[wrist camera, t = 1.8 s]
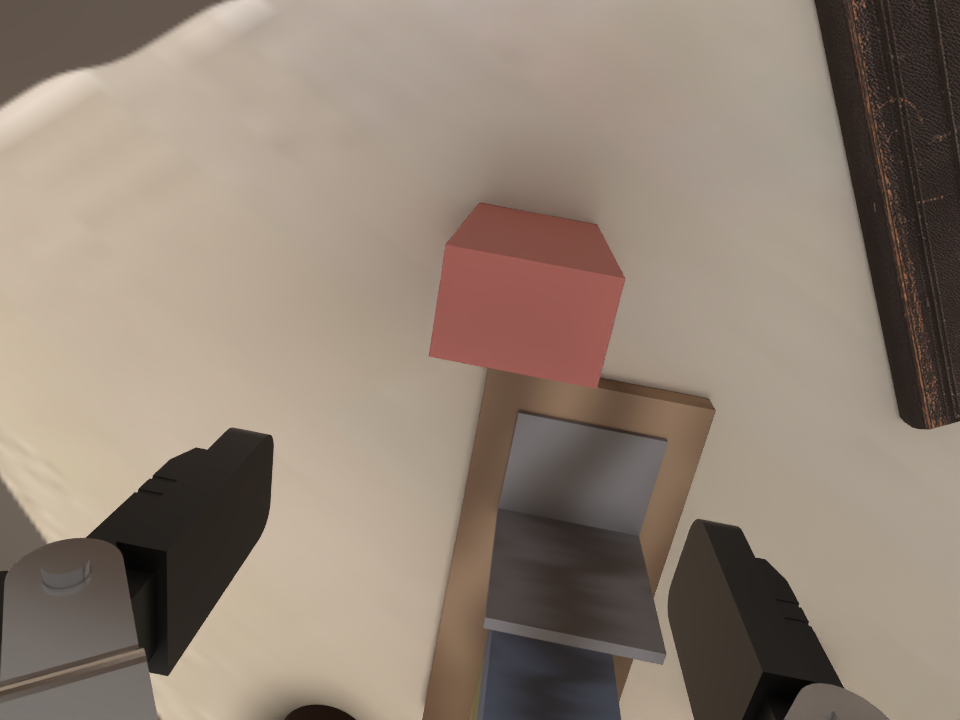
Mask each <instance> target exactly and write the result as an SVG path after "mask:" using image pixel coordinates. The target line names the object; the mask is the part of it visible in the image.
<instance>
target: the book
mask: <svg viewBox="0 0 960 720" xmlns="http://www.w3.org/2000/svg"><path fill="white" fill-rule="evenodd" d="M624 281H625V277H624V275H623V273H622V271H621V269H620V267H619V265H618V264H617V262H616V260H615V258H614V256H613V254H612V252H611V250H610V248H609V246H608V244H607V243H606V241H605V239H604V237H603V235H602V233H601V231H600V229H599V227H598V225H596V224H591V223H585V222H580V221H575V220H569V219H564V218H559V217H553V216H548V215H543V214H537V213H532V212H526V211H521V210H516V209H510V208H505V207H500V206H494V205H489V204H483V203H479V204H478V205H477V207H476V208H475V209H474V210H473V212H472V213H471V214H470V215H469V217H468V218H467V219H466V220H465V221H464V223H463V224H462V225H461V226H460V228H459V229H458V230H457V231H456V233H455V234H454V235H453V236H452V238H451V239H450V240H449V241H448V242H447V244H446V246H445V253H444V259H443V266H442V273H441V279H440V286H439V292H438V299H437V306H436V312H435V319H434V325H433V332H432V339H431V345H430V352H429V356H430V357H435V358H440V359H445V360H450V361H455V362H461V363H466V364H471V365H476V366H481V367H486V368H492V369H497V370H502V371H507V372H512V373H517V374H523V375H528V376H533V377H538V378H543V379H549V380H554V381H559V382H564V383H569V384H574V385H580V386H585V387H590V388H595V389H597V387H598V383H599V379H600V375H601V371H602V367H603V363H604V360H605V356H606V352H607V348H608V344H609V340H610V336H611V332H612V328H613V324H614V320H615V317H616V313H617V309H618V305H619V301H620V297H621V293H622V289H623V285H624Z"/></svg>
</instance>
